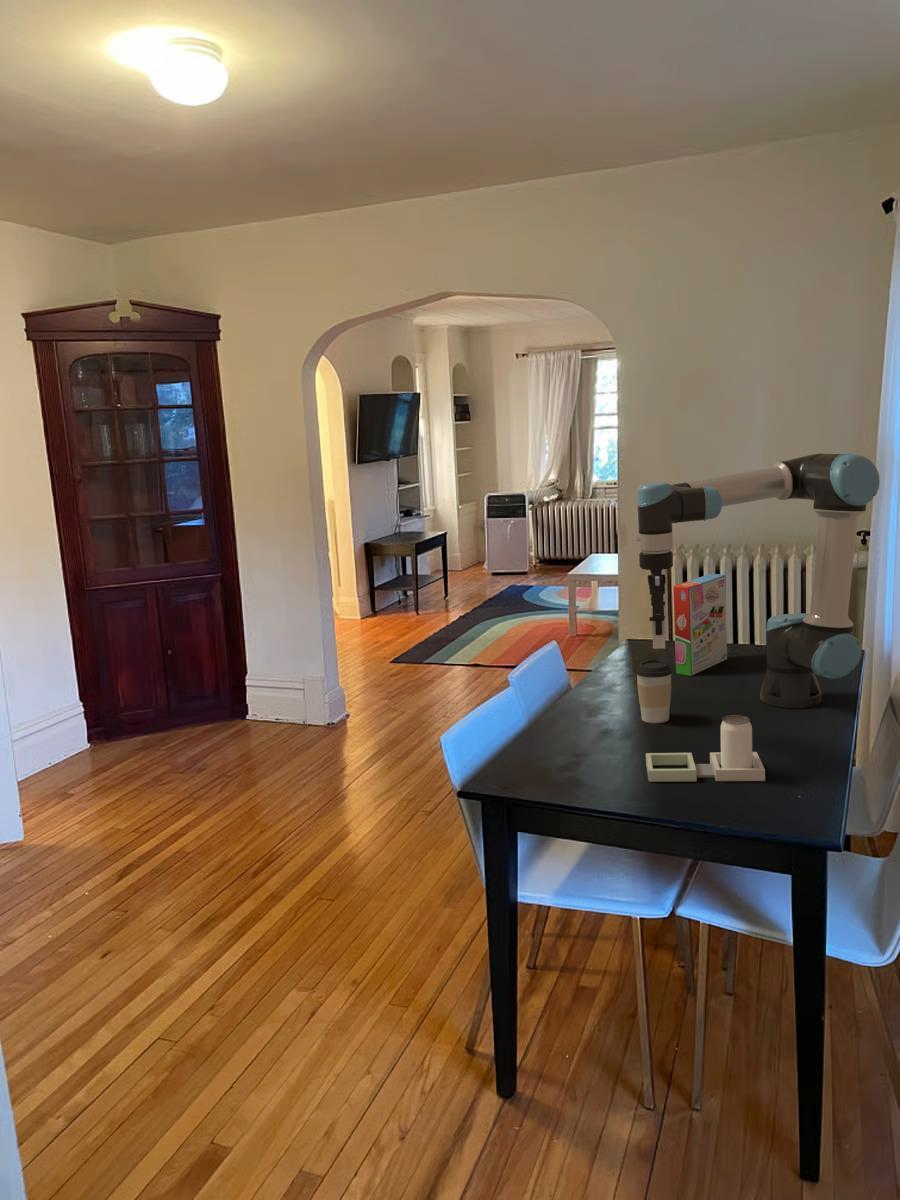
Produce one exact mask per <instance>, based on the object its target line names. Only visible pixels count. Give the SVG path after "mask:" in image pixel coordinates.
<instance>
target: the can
mask: <svg viewBox="0 0 900 1200" xmlns="http://www.w3.org/2000/svg"><path fill="white" fill-rule="evenodd" d="M720 752H721V765H720V768H753V764H752V752H753V726H752V723H751V719H750V718H749V717H748V716H746V715H739V714H730V715H725V716H723V717H722V722H721V724H720Z"/></svg>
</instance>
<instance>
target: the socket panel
mask: <svg viewBox="0 0 900 1200" xmlns="http://www.w3.org/2000/svg"><path fill="white" fill-rule="evenodd" d="M645 765H646V772H647V779H648V782H662V783H663V782H697V780H698V778H714V781H716V782H766V769H765V767H764V764H763V762H762V760H761V758H760V757H759V754H758V752H757V751H752V768H721V751H720V752H719V751H717V752H716V751H715V752H712V751H711V752H709V763H695V761H694V757H693V753H692V752H649V753H648V752H647V753H645ZM653 766H687V768H654V767H653Z"/></svg>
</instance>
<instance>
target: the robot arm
mask: <svg viewBox="0 0 900 1200" xmlns="http://www.w3.org/2000/svg"><path fill="white" fill-rule="evenodd" d="M880 481H881V480H880V474H879V470H878V468H877V467H876V465H875V464H874V463H873V462H872V460H870V459H869V458H868V457H866V456H863V455H859V454H853V453H814V454H809V455H805V456H800V457H796V458H792V459H788V460H784V461H777V462H774V464H772V465H771V467H766V468H760V469H756V470H750V471H749V470H748V471H743V472H737V473H732V474H731V473H730V474H727V475H721V476H720V475H719V476H714V477H708V478H704V479H703V478H702V479H697V480H691V481H686V482H679V483H673V484H670V483H669V482H650V483H648V482H647V483H644V484H643V483H642V484H641V485H639V487H638V488H637V501H636V502H637V503H636V506H637V519H638V520H637V521H638V523H637V524H638V536H637V537H636V539H635V541H636V542H639V543H638V546H639V547H638V548H639V549H638V550H640V552H639V555H638V556H639V557H638V559H639V568H640V569H641V570H644V571H645V570H646V571H648V570H649V571H650V574H648V575H647V585H648V589H649V595H650V602H651V603H650V605H651V607H650V613H651V614H650V615H651V616H650V617H649V622H651V634H652V649H656V650H657V649H666V623H665V621H666V620H665V619H666V616H665V606H666V601H665V597H664V595H665V594H666V583H667V581H666V574H663V573H662V571H663V570H669V569H672V568H673V566H674V555H673V554H674V553H673V551H672V549H673V548H674V544H673V541H674V539H673V537H674V536H673V524H678V523H687V522H688V523H689V522H696V521H697V522H698V521H704V522H705V521H706V520H713V519H716V518H718V516H720V514H721V512H722V508H723V507H728V506H734V505H740V504H746V503H751V502H756V501H763V500H768V499H774V498H775V499H777V500H779V501H786V500H793V499H794V500H795V499H796V500H797V499H798V500H810V501H813V507H812V508H813V509H812V510H813V511H814V513H815V514H816V515H817V516H818V526H817V535H816V536H817V538H816V545H815V546H816V548H815V559H814V568H813V569H814V570H813V577H812V578H813V579H812V588H811V597H810V598H811V599H810V600H811V601H810V609H809V613H804V612H803V613H800V612H798V613H796V612H795V613H785V614H778V615H774V616H773V615H772V616H770V618H768V620H767V622H766V630H765V631H766V632H765V633H766V666H767V667H766V673H765V676H764V678H763V681H762V685H761V687H760V692H759V693H760V697H759V699H760V701H762V702H763V703H764V704H768V705H770V706H774V707H779V708H785V709H786V708H787V709H802V708H803V709H804V708H811V707H814V706H817V705H819V704H820V703H821V702H822V691H821V688H820V685H819V681H818V680H817V679H818V678H817V676H819V677H823V678H828V679H841V678H844V677H846V676H847V675H850V673H851V671H854V670H855V668H856V667H857V666H858V664H859V662H860V660H861V657H862V646H861V645H862V644H861V643H860V642H859V640H858V639H857V637H856V636H854V634H853V633H854V622H853V621H852V620H851V619H850V618H849V609H850V608H849V606H850V597H851V587H852V586H851V585H852V577H853V568H854V560H855V559H854V557H855V549H856V540H857V531H858V530H857V529H858V520H859V518H860V517H861V516H863V515H864V514H865V513H866V509H867V504H869V503H871V502H872V501H873V499H874V497H876V496H877V494H878V491H879V490H880V489H879V488H880Z"/></svg>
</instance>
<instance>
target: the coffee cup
mask: <svg viewBox="0 0 900 1200" xmlns="http://www.w3.org/2000/svg"><path fill="white" fill-rule="evenodd" d="M672 670H673V669H672V667H671V666H669V665H668V664H667V662H665V661H660V660H659V659H655V658H654V659H652V658H651V659H648V660H646V661H644V662H641V663H639V665H638V666H637V667H636V668H635V674H636V678H637V679H636V681H637V682H636V683H637V693H638V703H639V705H640V707H639V709H640V714H641V716H640V717H641V721H643V722H645V723H649V724H661V723H666V722H668V721H669V720H670V706H671V699H672V698H671V697H672V673H673V671H672Z"/></svg>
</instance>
